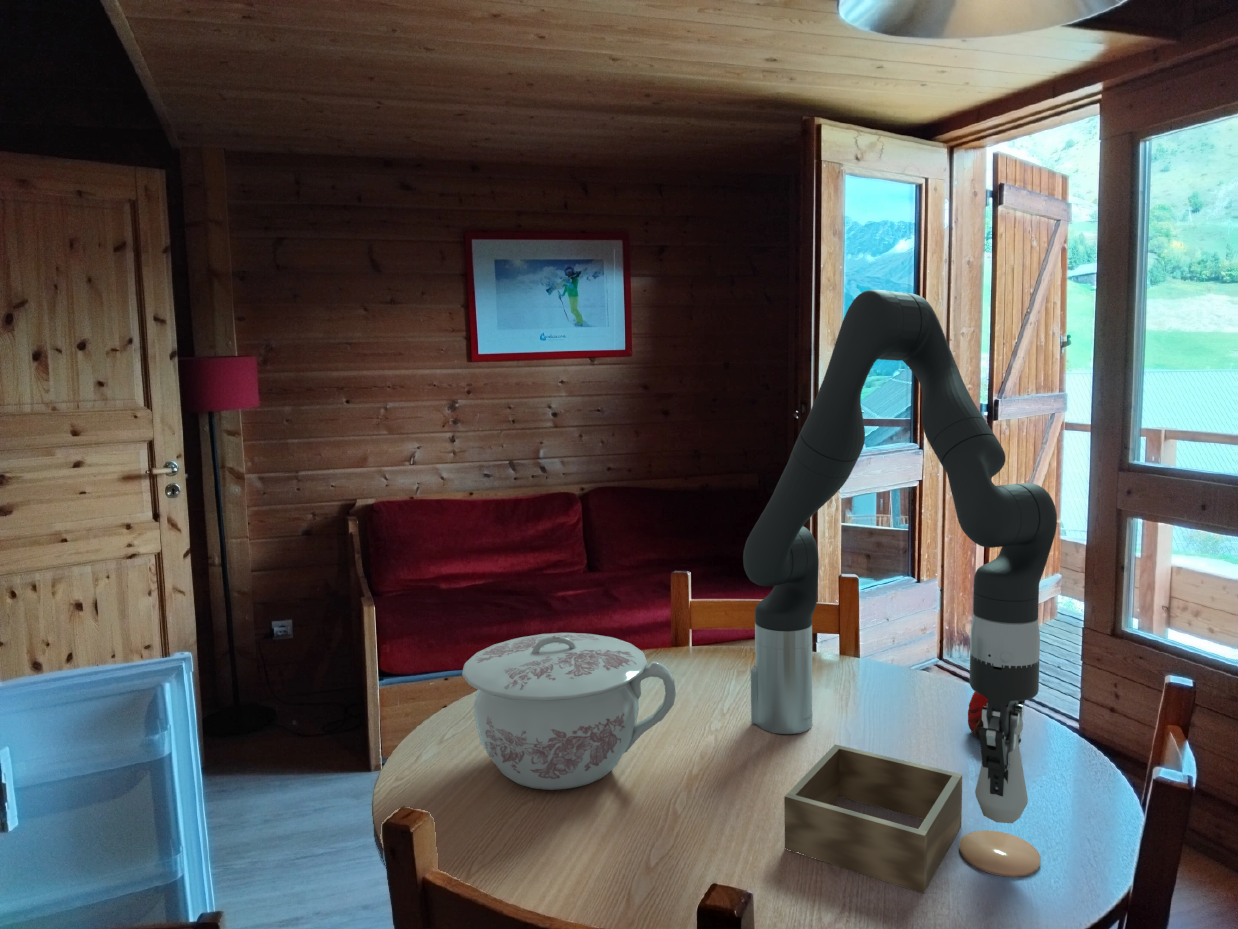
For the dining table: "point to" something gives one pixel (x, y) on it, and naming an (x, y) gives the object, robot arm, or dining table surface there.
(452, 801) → the dining table surface
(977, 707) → the red clay folk toy
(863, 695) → the dining table surface
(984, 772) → the salt shaker
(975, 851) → the tan round coaster
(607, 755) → the chamber pot
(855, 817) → the walnut box
